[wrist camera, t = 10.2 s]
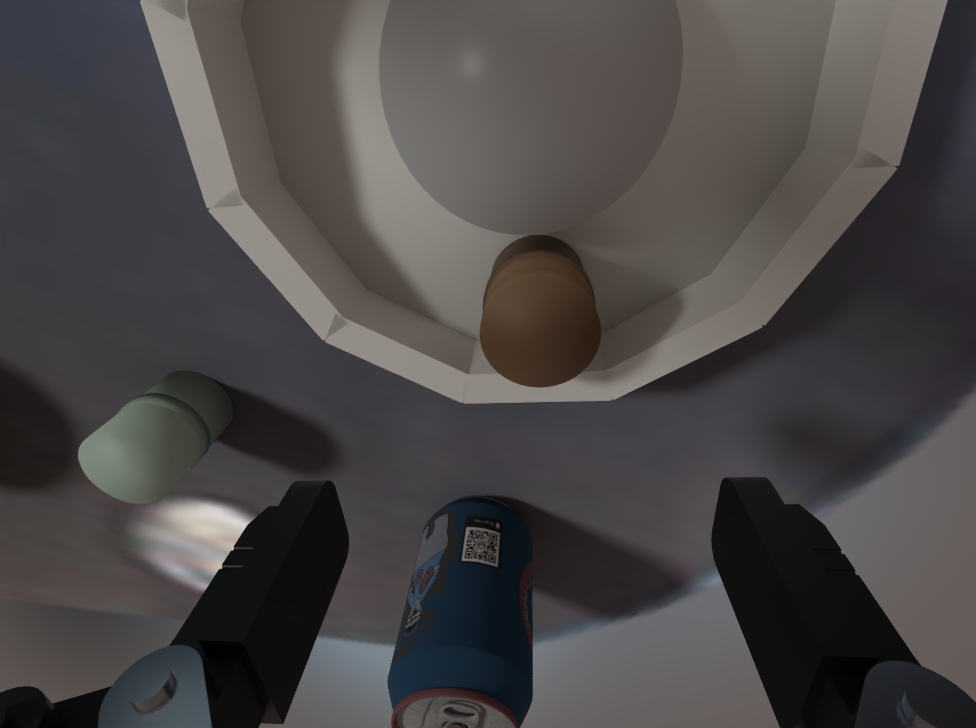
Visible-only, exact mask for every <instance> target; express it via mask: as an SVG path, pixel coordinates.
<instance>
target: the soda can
mask: <svg viewBox="0 0 976 728" xmlns="http://www.w3.org/2000/svg"><path fill="white" fill-rule="evenodd" d="M532 650H533V626H532V539H531V536H530V533H529V531H528V529H527V527H526V526H525V524H524V523H523V521H522V520H521V519H520V518H519V517H518V515H517V514H516V513H515V512H514V511H513V510H512V509H511V508H510V507H509V506H507V505H506V504H504V503H502V502H501V501H498V500H496V499H493V498H490V497H485V496H467V497H462V498H459V499H456V500H454V501H452V502H450V503H449V504H447V505H446V506H444V507H443V508H441V509H440V510H439V511H437V512H436V513H435V514H434V515H433V516H432V517H431V518H430V520H429V521H428V522H427V524H426V526H425V528H424V531H423V534H422V539H421V543H420V547H419V551H418V555H417V559H416V563H415V568H414V572H413V576H412V580H411V584H410V588H409V592H408V597H407V601H406V605H405V609H404V613H403V617H402V621H401V626H400V630H399V634H398V638H397V642H396V646H395V650H394V655H393V659H392V663H391V667H390V671H389V676H388V689H389V694H390V699H391V703H392V708H393V715H392V720H391V726H392V728H520V726H521V724H522V722H523V720H524V718H525V716H526V714H527V712H528V710H529V708H530V705H531V702H532V697H533V691H532V690H533V679H532V678H533V660H532V659H533V654H532V653H533V651H532Z"/></svg>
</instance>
